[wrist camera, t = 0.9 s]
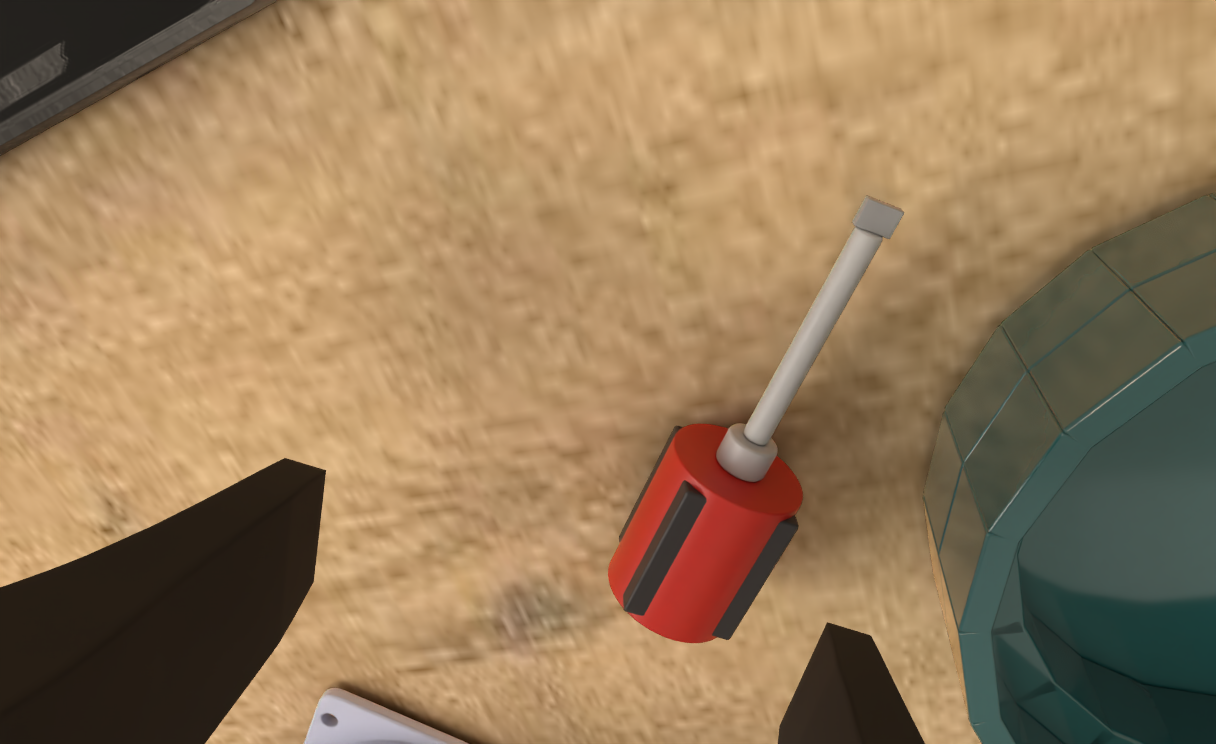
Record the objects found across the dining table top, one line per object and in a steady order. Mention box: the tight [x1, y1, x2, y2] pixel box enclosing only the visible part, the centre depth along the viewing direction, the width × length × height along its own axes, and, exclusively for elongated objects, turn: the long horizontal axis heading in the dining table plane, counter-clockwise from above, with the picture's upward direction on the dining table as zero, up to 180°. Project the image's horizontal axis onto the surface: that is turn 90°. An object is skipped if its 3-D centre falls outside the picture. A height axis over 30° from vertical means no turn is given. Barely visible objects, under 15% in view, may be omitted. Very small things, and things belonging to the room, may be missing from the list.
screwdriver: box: [608, 196, 904, 643], centre depth 21 cm, size 11×3×3 cm, turn 158°
